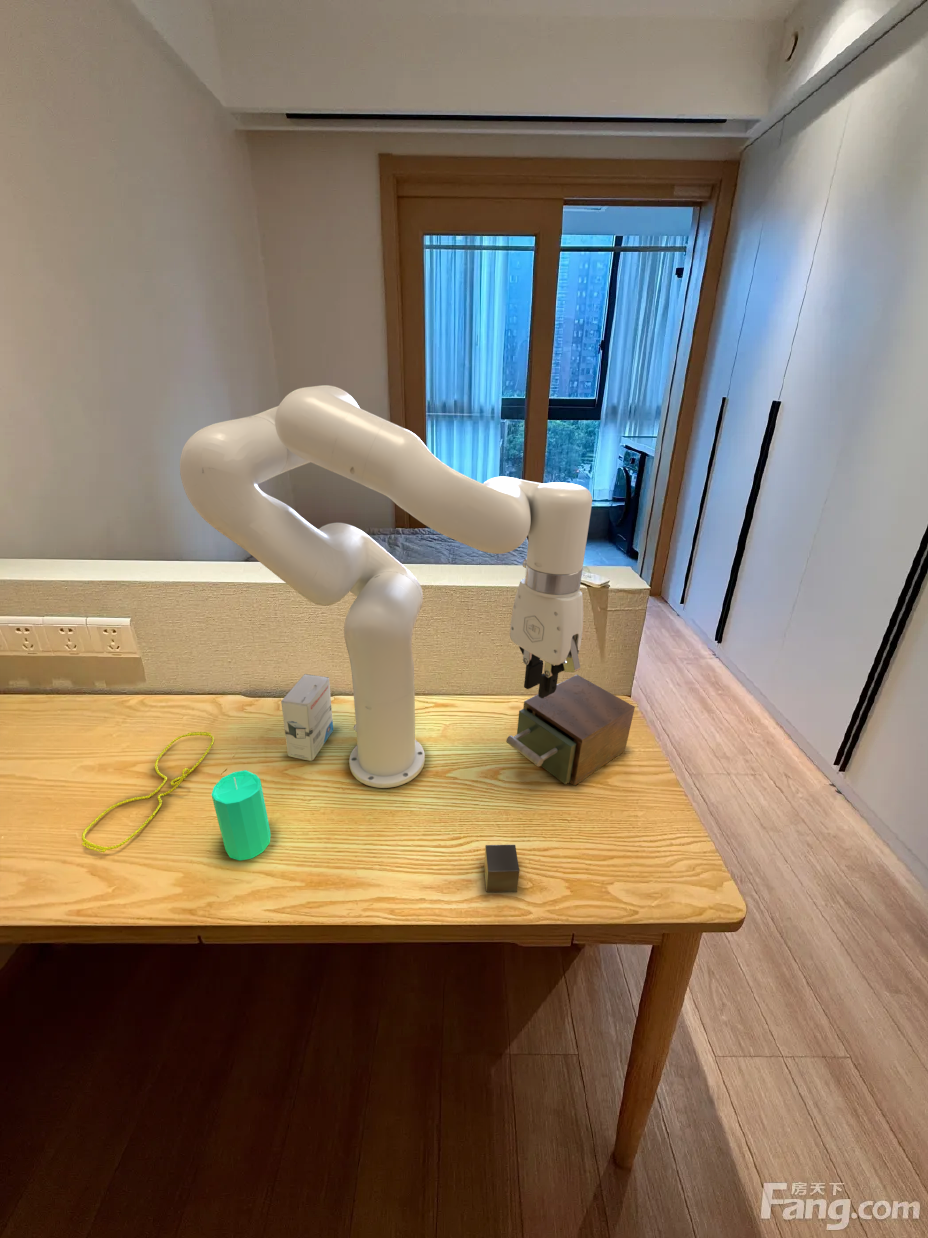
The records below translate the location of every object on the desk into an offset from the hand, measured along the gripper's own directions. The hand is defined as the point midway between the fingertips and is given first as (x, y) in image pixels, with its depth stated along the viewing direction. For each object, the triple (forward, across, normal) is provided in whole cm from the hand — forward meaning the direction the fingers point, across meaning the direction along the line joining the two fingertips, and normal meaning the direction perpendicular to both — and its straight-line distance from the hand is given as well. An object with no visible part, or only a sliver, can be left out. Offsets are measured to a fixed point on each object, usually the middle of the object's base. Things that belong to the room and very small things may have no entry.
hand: (539, 689), depth 78 cm
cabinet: (+17, 0, +11) cm, 20 cm away
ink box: (+17, -29, -25) cm, 42 cm away
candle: (+17, -15, -41) cm, 47 cm away
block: (+17, +11, -17) cm, 27 cm away
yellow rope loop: (+17, -33, -48) cm, 61 cm away
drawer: (+16, 0, +6) cm, 17 cm away
